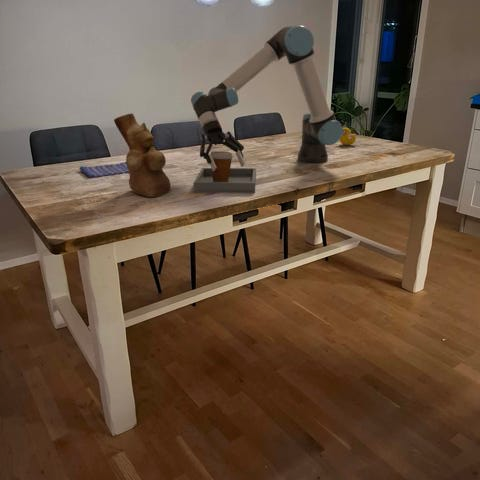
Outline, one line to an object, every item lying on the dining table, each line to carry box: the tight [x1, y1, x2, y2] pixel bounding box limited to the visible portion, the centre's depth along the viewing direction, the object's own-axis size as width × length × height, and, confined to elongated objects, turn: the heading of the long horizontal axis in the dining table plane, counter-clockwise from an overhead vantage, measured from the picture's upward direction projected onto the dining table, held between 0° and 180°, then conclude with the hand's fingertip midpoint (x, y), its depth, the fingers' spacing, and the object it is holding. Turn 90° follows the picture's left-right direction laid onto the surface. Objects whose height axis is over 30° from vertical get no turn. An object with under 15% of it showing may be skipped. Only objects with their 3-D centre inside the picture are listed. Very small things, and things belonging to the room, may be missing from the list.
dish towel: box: [78, 161, 129, 179], centre depth 213 cm, size 17×24×3 cm
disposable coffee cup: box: [210, 151, 234, 182], centre depth 188 cm, size 10×10×12 cm
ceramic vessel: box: [113, 112, 172, 198], centre depth 177 cm, size 16×22×30 cm
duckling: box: [339, 127, 357, 146], centre depth 266 cm, size 11×5×10 cm, turn 62°
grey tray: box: [193, 167, 257, 194], centre depth 191 cm, size 24×24×4 cm
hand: (229, 167), depth 187 cm, fingers open, 13 cm apart
